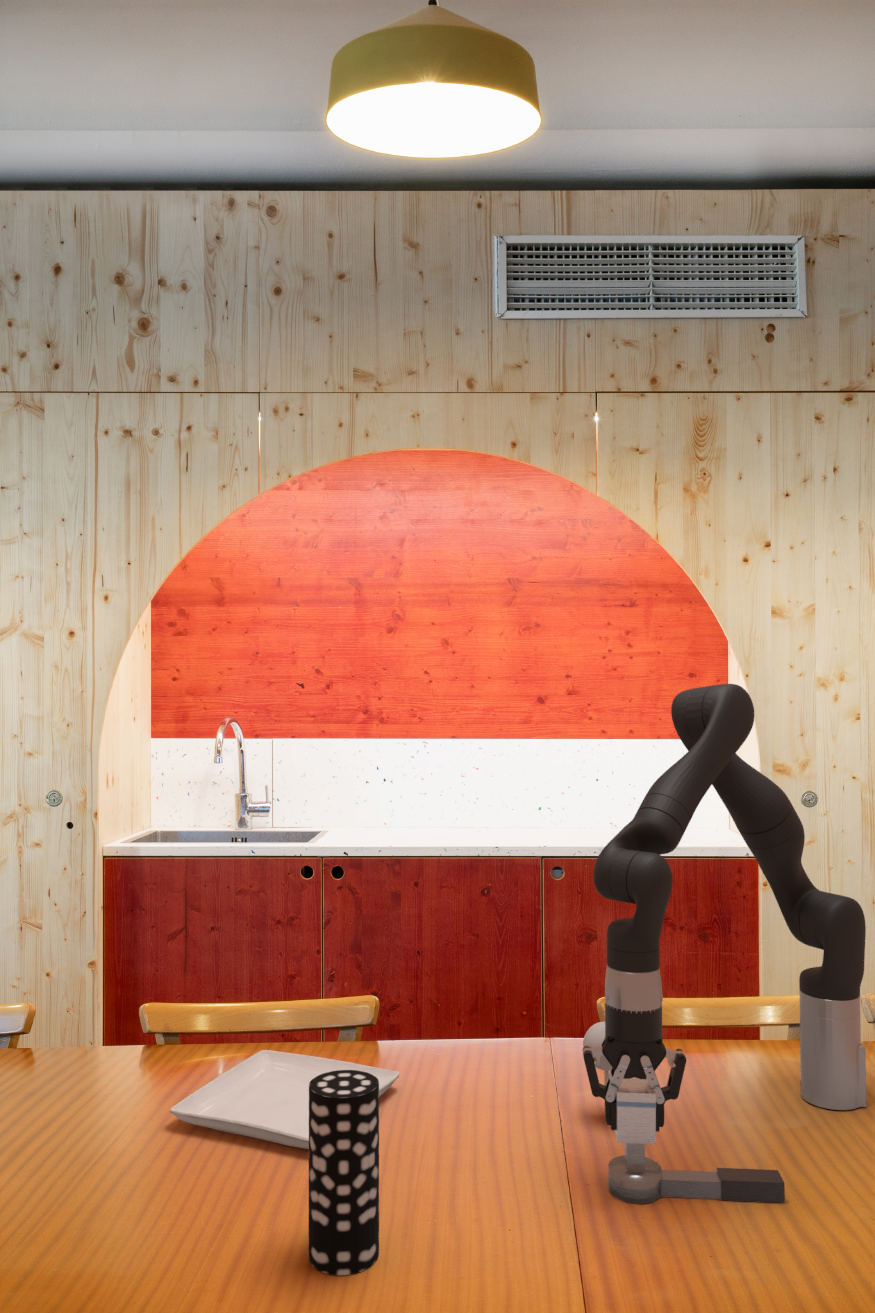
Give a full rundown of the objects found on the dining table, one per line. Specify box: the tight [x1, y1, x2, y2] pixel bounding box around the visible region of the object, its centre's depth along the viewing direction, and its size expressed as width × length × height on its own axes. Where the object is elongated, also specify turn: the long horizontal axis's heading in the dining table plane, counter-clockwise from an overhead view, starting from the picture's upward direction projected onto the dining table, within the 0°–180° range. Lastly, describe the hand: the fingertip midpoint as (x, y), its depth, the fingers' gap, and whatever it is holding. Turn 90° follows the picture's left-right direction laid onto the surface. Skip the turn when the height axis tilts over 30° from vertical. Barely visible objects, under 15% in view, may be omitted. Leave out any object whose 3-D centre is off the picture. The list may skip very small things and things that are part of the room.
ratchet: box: [607, 1143, 786, 1205], centre depth 130 cm, size 22×7×7 cm, turn 85°
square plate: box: [169, 1049, 401, 1150], centre depth 156 cm, size 27×27×4 cm
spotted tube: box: [308, 1070, 380, 1276], centre depth 116 cm, size 8×8×20 cm
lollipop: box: [582, 1020, 612, 1122], centre depth 152 cm, size 7×7×15 cm
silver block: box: [614, 1077, 657, 1145], centre depth 131 cm, size 5×5×6 cm
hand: (634, 1128), depth 131 cm, fingers closed on silver block, 5 cm apart
